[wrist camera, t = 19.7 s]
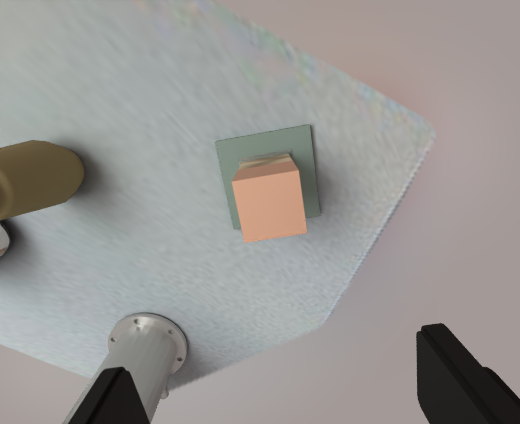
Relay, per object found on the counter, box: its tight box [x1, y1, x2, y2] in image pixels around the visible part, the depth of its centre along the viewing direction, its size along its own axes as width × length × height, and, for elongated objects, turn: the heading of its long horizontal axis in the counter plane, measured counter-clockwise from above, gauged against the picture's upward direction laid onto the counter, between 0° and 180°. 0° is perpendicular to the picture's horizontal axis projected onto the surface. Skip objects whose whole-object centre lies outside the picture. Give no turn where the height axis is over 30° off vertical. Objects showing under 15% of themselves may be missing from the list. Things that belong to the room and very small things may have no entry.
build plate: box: [215, 125, 320, 229], centre depth 38 cm, size 12×12×1 cm
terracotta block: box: [232, 160, 307, 243], centre depth 29 cm, size 6×6×6 cm
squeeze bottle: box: [0, 140, 85, 220], centre depth 30 cm, size 8×8×18 cm
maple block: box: [238, 154, 292, 170], centre depth 35 cm, size 6×6×6 cm
